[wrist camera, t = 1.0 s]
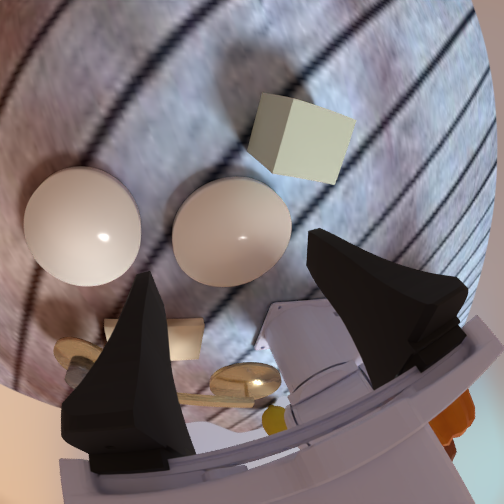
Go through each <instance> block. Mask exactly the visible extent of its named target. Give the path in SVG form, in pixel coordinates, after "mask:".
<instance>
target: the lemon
mask: <svg viewBox="0 0 504 504" xmlns="http://www.w3.org/2000/svg"><path fill="white" fill-rule="evenodd" d="M284 413H285V409H284V408H283V407H280V406H274V405H269V406H268V409H267V410H266V411H265V412H264V413H263V415H262V425H263V428H264V429H265V431H266V432H267V434H268V435H272V434H275V433H278V432H281V431H284V430H287V429H288V428H287V426H286V423H285V419H284Z"/></svg>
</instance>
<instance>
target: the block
mask: <svg viewBox="0 0 504 504" xmlns="http://www.w3.org/2000/svg"><path fill="white" fill-rule="evenodd" d="M355 123H356V120H354V119H352V118H349V117H347V116H344V115H342V114H339V113H336V112H333V111H331V110H328V109H325V108H322V107H319V106H316V105H313V104H310V103H307V102H304V101H301V100H298V99H294V98H290V97H285V96H280V95H274V94H268V93H262V95H261V99H260V102H259V106H258V110H257V114H256V118H255V121H254V125H253V129H252V133H251V137H250V141H249V145H248V149H247V152H248V153H249V154H251V155H252V156H253V157H254V158H255V159H256V160H258V161H259V162H260V163H261V164H262V165H263V166H264V167H266V168H267V169H268V170H269V171H270V172H271V173H272V174H278V175H284V176H290V177H296V178H302V179H307V180H313V181H318V182H323V183H328V184H333V185H335V182H336V180H337V177H338V174H339V171H340V168H341V165H342V162H343V159H344V157H345V154H346V151H347V148H348V145H349V142H350V138H351V135H352V132H353V129H354V126H355Z"/></svg>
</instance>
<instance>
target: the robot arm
mask: <svg viewBox="0 0 504 504" xmlns="http://www.w3.org/2000/svg"><path fill="white" fill-rule="evenodd" d="M306 266H307V268H308V269H309V271H310V273H311V275H312V277H313V279H314V281H315V283H316V284H317V285H318V287H319V288H320V290H321V291H322V293H323V294H324V295H325V297H326V298H327V299H316V300H304V301H290V302H276V303H273V304H271V306H270V308H269V311H268V313H267V316H266V318H265V321H264V323H263V326H262V329H261V331H260V334H259V336H258V339H257V341H256V344H255V346H254V348H255V350H264V349H270V350H271V352H272V354H273V357H274V359H275V361H276V363H277V365H278V368H279V370H280V372H281V374H282V376H283V379H284V381H285V383H286V385H287V387H288V389H289V392H290V395H289V396H288V399H289V401H290V403H291V404H289V405H287V406H286V408H285V413H284V419H285V423H286V426H287V428H288V429H287V430H284V431H281V432H278V433H275V434H272V435H269V436H266V437H263V438H260V439H257V440H253V441H250V442H246V443H243V444H239V445H236V446H232V447H228V448H224V449H220V450H215V451H211V452H206V453H202V454H196V452H195V449H194V447H193V444H192V441H191V439H190V436H189V433H188V430H187V427H186V424H185V420H184V417H183V414H182V410H181V407H180V403H179V400H178V396H177V392H176V388H175V384H174V379H173V374H172V368H171V359H170V349H169V337H168V325H167V319H166V314H165V309H164V304H163V301H162V299H161V297H160V294H159V292H158V289H157V287H156V284H155V282H154V279H153V277H152V274H151V272H150V271H148V272H144V273H140V274H137V275H136V277H135V279H134V282H133V285H132V287H131V290H130V293H129V295H128V298H127V300H126V303H125V305H124V308H123V310H122V312H121V315H120V317H119V319H118V321H117V323H116V326H115V328H114V330H113V332H112V334H111V336H110V338H109V340H108V341H107V343H106V345H105V347H104V349H103V350H102V352H101V354H100V355H99V357H98V358H97V360H96V361H95V363H94V364H93V366H92V367H91V369H90V370H89V372H88V373H87V374H86V376H85V377H84V378H83V380H82V381H81V382H80V384H79V385H78V386H77V387H76V388H75V390H74V391H73V392H72V393H71V394H70V395H69V396H68V397H67V399H66V400H65V401H64V402H63V403H62V408H61V436H62V438H63V439H64V440H65V441H66V442H67V443H68V444H70V445H72V446H74V447H76V448H78V449H80V450H82V451H84V452H86V453H88V454H89V461H88V460H83V459H62V458H61V459H59V465H60V476H61V485H62V492H63V499H64V504H475V502H474V501H473V499H472V497H471V495H470V493H469V491H468V489H467V487H466V486H465V484H464V482H463V480H462V478H461V477H460V475H459V473H458V471H457V470H456V468H455V466H454V464H453V463H452V461H451V459H450V458H449V456H448V454H447V453H446V451H445V449H444V448H443V446H442V444H441V443H440V441H439V439H438V438H437V436H436V434H435V433H434V431H433V430H432V428H431V426H430V425H429V423H428V422H429V421H431V420H432V419H433V418H434V417H436V416H437V415H438V414H439V413H441V412H442V411H443V410H444V409H446V408H447V407H448V406H449V405H450V404H451V403H453V402H454V401H455V400H456V399H457V398H458V397H459V396H460V395H461V394H463V393H464V392H465V391H466V390H467V389H468V388H469V387H470V386H471V385H472V384H473V383H474V382H475V381H476V380H477V379H478V378H479V377H480V376H481V375H482V374H483V373H484V372H485V371H486V370H487V369H488V367H489V366H490V365H491V364H492V363H493V362H494V361H495V360H496V359H497V358H498V357H499V355H500V354H501V353H502V352H503V351H504V346H503V345H502V343H501V342H500V341H499V340H498V338H497V337H496V336H495V335H494V334H493V333H492V331H491V330H490V329H489V328H488V327H487V325H486V324H485V323H484V322H483V321H482V320H481V318H480V317H479V316H478V315H476V316H475V317H473V318H472V319H471V320H470V321H469V322H467V323H466V324H465V325H464V326H463V327H462V328H460V327H459V325H458V324H459V323H460V320H459V319H458V317H457V314H458V312H459V311H460V309H461V307H462V306H463V304H464V302H465V300H466V298H467V295H468V288H467V287H466V286H465V285H464V284H463V283H462V282H461V281H460V280H459V279H458V278H457V277H453V276H446V275H438V274H433V273H428V272H424V271H420V270H416V269H412V268H409V267H405V266H402V265H399V264H396V263H394V262H391V261H388V260H386V259H383V258H381V257H378V256H376V255H374V254H372V253H369V252H367V251H365V250H363V249H361V248H359V247H357V246H355V245H353V244H351V243H349V242H347V241H345V240H343V239H341V238H339V237H337V236H336V235H334V234H332V233H330V232H328V231H325V230H323V229H321V228H318V229H314V230H310V231H308V246H307V263H306ZM297 446H298V448H299V449H300V451H297V452H295V453H292V454H290V455H287V456H285V457H282V458H280V459H277V460H275V461H272V462H269V463H267V464H264V465H261V466H258V467H255V468H252V469H249V470H248V469H247V466H245V465H241V464H245V463H248V462H252V461H255V460H259V459H262V458H265V457H268V456H272V455H275V454H277V453H281V452H283V451H286V450H289V449H292V448H295V447H297ZM237 465H241V466H237ZM233 466H234V467H233Z"/></svg>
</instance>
